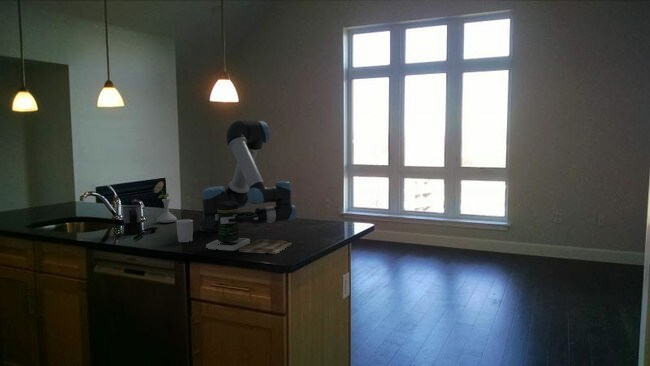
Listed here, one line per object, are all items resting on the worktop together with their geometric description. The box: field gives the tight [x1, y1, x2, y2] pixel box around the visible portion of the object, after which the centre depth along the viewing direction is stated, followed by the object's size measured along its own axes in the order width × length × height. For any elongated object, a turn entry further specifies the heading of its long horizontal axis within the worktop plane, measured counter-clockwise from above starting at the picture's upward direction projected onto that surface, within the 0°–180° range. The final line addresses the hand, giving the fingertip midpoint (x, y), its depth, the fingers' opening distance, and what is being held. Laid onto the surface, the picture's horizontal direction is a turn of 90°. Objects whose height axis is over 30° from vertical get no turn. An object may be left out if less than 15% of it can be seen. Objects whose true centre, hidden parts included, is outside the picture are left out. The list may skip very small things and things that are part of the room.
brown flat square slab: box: [238, 239, 293, 255], centre depth 216 cm, size 18×18×2 cm
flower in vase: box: [153, 180, 178, 224], centre depth 283 cm, size 13×11×25 cm
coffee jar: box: [217, 201, 240, 243], centre depth 220 cm, size 10×8×19 cm
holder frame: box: [205, 237, 251, 251], centre depth 221 cm, size 14×16×2 cm
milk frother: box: [121, 204, 159, 236], centre depth 254 cm, size 14×16×15 cm
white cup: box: [175, 218, 194, 243], centre depth 233 cm, size 8×8×10 cm
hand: (218, 219), depth 218 cm, fingers closed on coffee jar, 9 cm apart
